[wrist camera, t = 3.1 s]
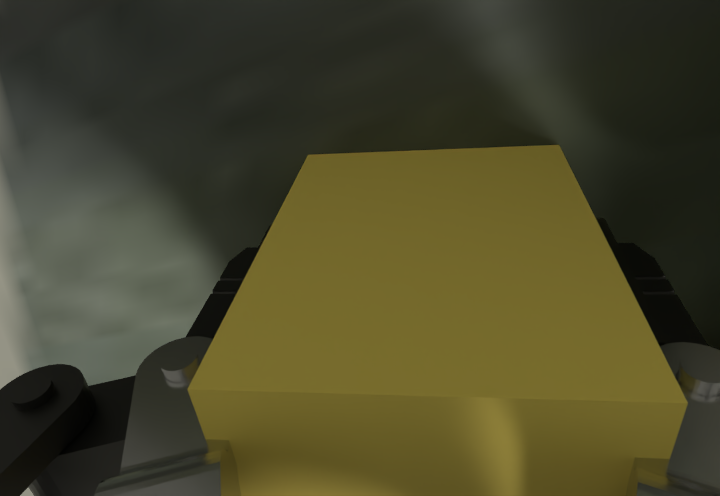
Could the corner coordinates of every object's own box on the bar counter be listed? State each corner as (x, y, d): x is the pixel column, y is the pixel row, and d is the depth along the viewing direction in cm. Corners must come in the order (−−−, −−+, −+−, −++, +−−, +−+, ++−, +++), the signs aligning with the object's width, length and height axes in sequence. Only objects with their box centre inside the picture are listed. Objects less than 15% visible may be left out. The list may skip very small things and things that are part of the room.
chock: (308, 154, 11) (187, 389, 6) (558, 144, 11) (687, 403, 5) (339, 365, 14) (280, 645, 9) (534, 369, 14) (598, 678, 8)
